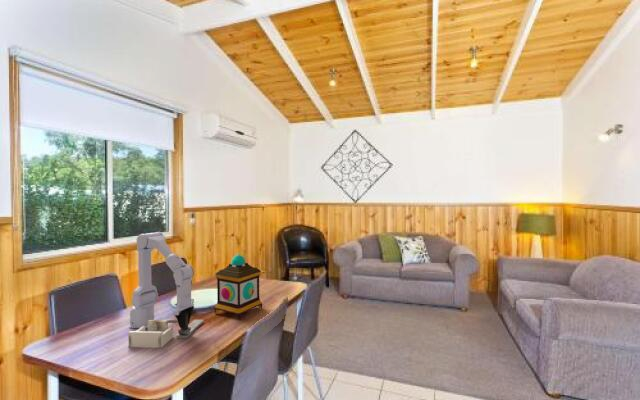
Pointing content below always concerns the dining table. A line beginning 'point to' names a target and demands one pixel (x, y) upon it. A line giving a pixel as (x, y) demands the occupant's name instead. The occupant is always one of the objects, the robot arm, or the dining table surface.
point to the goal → (149, 338)
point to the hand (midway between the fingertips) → (184, 325)
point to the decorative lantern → (238, 287)
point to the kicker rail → (193, 325)
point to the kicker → (163, 325)
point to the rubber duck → (153, 327)
